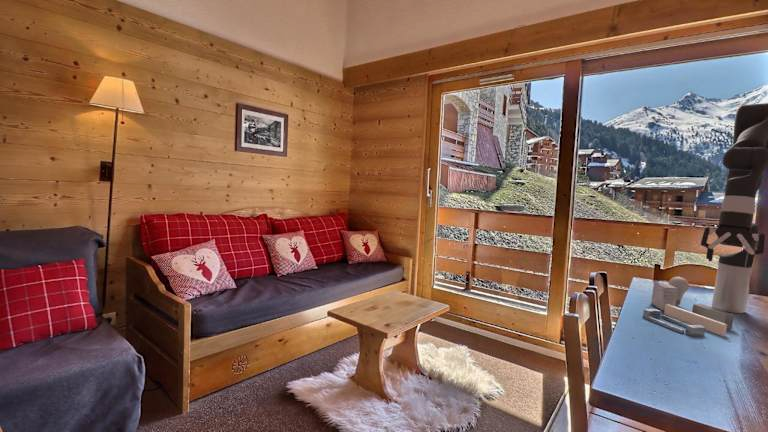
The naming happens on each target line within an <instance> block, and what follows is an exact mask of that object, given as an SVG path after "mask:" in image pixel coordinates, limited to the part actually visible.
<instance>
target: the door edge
mask: <svg viewBox="0 0 768 432" xmlns="http://www.w3.org/2000/svg"><path fill="white" fill-rule="evenodd" d="M663 315H665V316H668V317H670V318H673V319H676V320H678V321H681V322H684V323H686V324H689V325H701V326H703V327H706V328H705V331H708V332H710V333H713V334H716V335H719V336H723V337H725V336H726V335H727V330H728V329H727V324H725V323H722V322H719V321H716V320H713V319H710V318H707V317H704V316H701V315H698V314H696V313H693V312H692V311H690V310H687V309H684V308H681V307H678V306H672V305H669V304H666V305H665V311H664V313H663ZM726 329H727V330H726Z"/></svg>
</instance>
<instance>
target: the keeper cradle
mask: <svg viewBox="0 0 768 432" xmlns="http://www.w3.org/2000/svg"><path fill="white" fill-rule="evenodd" d="M661 313H662V310H661V309H657V308H644V309H643V314H642V317H644V319H646V320H647V321H650V322H652V323H654V324H657V325H660V326H663V327H665V328H667V329H670V330H672V331H675V332H677V333H678V334H685V335H688V336H691V337H698V336H705V331H706V330H705V328H706V327H703V326H701V325H692V324H689V323H686V322H684V321H681V320H678V319H676V318H673V317H670V316H668V315H665V314H661ZM660 319H662V320H666V321H668V322H670V323H673V324H675V325H679V326H680V327H683V328H685V329H683V328H680V327H679V326H678V327H677V326H675V325H672V324H670V323H667V322H665V321H662V320H660Z"/></svg>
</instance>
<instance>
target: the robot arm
mask: <svg viewBox="0 0 768 432" xmlns="http://www.w3.org/2000/svg"><path fill="white" fill-rule="evenodd" d="M767 141H768V102H764V103H751V104H742V105H741V104H740V105H739V106H738V107H737V109H736V112H735V117H734V125H733V137H732V145H731V146H730V147H729V148H728V149H727V150H726V151H725V153H724V154H723V156H722V165H723V166H724V168H725V169H727V178H726V183H725V192H724V196H723V199H722V203H721V207H720V214H719V218H718V225H717V228H710V227H704V229H703V233H702V238H701V240H700V245H701V246H702V247H705V248H706V249H707V250H706V260H708V262H713V257H714V256H713V255H714V248H715V247H717V246H718V245H719V244H720V245H723V246H729V247H736V248H737V247H738V248H742V250H740V251H738V252H734V253H728V254H721V255H720V256H719V258H718V263H717V264H718V265H717V271H716V276H715V284H714V290H713V293H712V294H713V295H712V300H711V301H712V302H711V307H712V308H715V309H718V310H721V311H724V312H727V313H731V314H745V312H747V311H746V309H747V304H748V299H749V294H750V280H751V276H752V275H751V273H752V269H753V263H754V259H755V256H756V255H760V254H762V255H763V254H764V251H765V240H766V234H764V233H760V228H759V224H756V223H753V220H754V214H755V212H756V210H755V209H756V196H757V192H758V191H759V190H760V188H761V186H762V182H763V181H762V180H763V175H764V172H765V170H766V169H767V167H768V148H767V147H766V146H767V145H766V144H767ZM713 233H714V234H715V235H716V236H717V239H716V240H714V241H713V242H711V243H710V244H709V243H707V242H708V239H709V236H711V235H713Z"/></svg>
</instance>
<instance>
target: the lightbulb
mask: <svg viewBox="0 0 768 432" xmlns="http://www.w3.org/2000/svg"><path fill="white" fill-rule="evenodd" d="M668 284H669V285H671V286H673V287H675V288H677V289H678V291H677V299H676V306H678V305H679V306H680V305H681V301H682V299H683V296H684V295H685V294H686V292H687V291H688V290H689V287H690V285H689V284H690V283H689V282H688V281H687V279H686V278H684V277H681V276H673V277H672V278H670V279H669V281H668Z"/></svg>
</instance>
